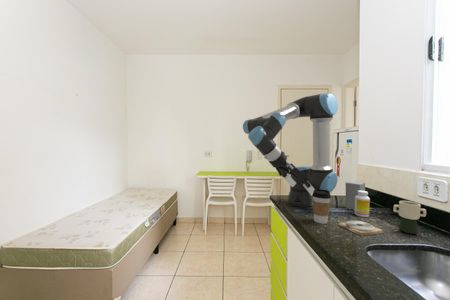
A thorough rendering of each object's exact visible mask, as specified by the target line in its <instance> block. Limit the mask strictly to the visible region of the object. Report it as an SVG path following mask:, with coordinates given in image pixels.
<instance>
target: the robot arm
mask: <svg viewBox="0 0 450 300" xmlns="http://www.w3.org/2000/svg"><path fill="white" fill-rule="evenodd" d="M338 108H339V107H338V101H337V98H336V97H335V95H334V94H332V93H330V92H329V93H328V92H326V93H325V92H324V93H320V94H314V95H313V94H312V95H308V96H303V97H301V98H298V99H296V100H294V101H292V102H289V103H288V104H286V105H285V106H283V107H281V108H278V109H276V110H273V111H270V112H268V113H266V114H263V115H261V116H259V117H256V118H250V119H246V120H244V122H243V123H242V130H243V132H244V133H245V134H246V135H247V138H248V140H249V141H250V143H251V144H252V145H253V146H254V147H255V148H256V149H257V150H258V151H259V152H260V154H261V155H262V156H263V158H264V159H265V160H267V162H268V163H270V165H271V166H272V167H273V168H275V169H276V171H277V173H278V175H279V176H280V177H282V178H284V179H285V181H286V182H287V183H288V184H289V192H288V195H287V198H286V203H287V204H288V205H290V206H293V207H299V208H309V207H308V206H311V205H312V206H313V197H312V195H311V194H313V191H314V190H315V189H323V190H327V191H329V192H330V193H332V192H333V191H334V190H335V188H336V186H337V184H338V175H337V173H336V172H334V168H333V167H332V166H331V163H330V162H331V161H330V159H331V157H330V156H331V154H330V153H331V152H330V151H331V149H330V148H331V139H330V138H331V137H330V136H331V134H330V131H331V128H330V127H331V123H330V122H331V121H332V120H333V118H334V115H336V114H337V113H338ZM298 118H309V120H310V121H311V123H312V166H296V165H295V164H293V163H292V162H291V163H289V162H287V159H288V157H287V155H286V154H285V153H284V151H282V149H281V147H279V145H277V143H276V142H275V140H274V139H275V138H276V137H277V135H278V134H279V133H280V131H281V130H283V127H284V126H285V125H286V122H287V121H289V120H295V119H298ZM312 206H311V207H312Z"/></svg>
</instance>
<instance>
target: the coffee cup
mask: <svg viewBox="0 0 450 300" xmlns="http://www.w3.org/2000/svg"><path fill="white" fill-rule="evenodd" d="M311 194H312V195H311V197H312V201H313V205H312V210H313V211H312V212H313V222H315V223H317V224H321V225H322V224H327V223H328V221H329V219H328V217H329V212H330V205H331V198H332V197H331V192H329V191H327V190H323V189H315V190H314V191H313V192H312V193H311Z"/></svg>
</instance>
